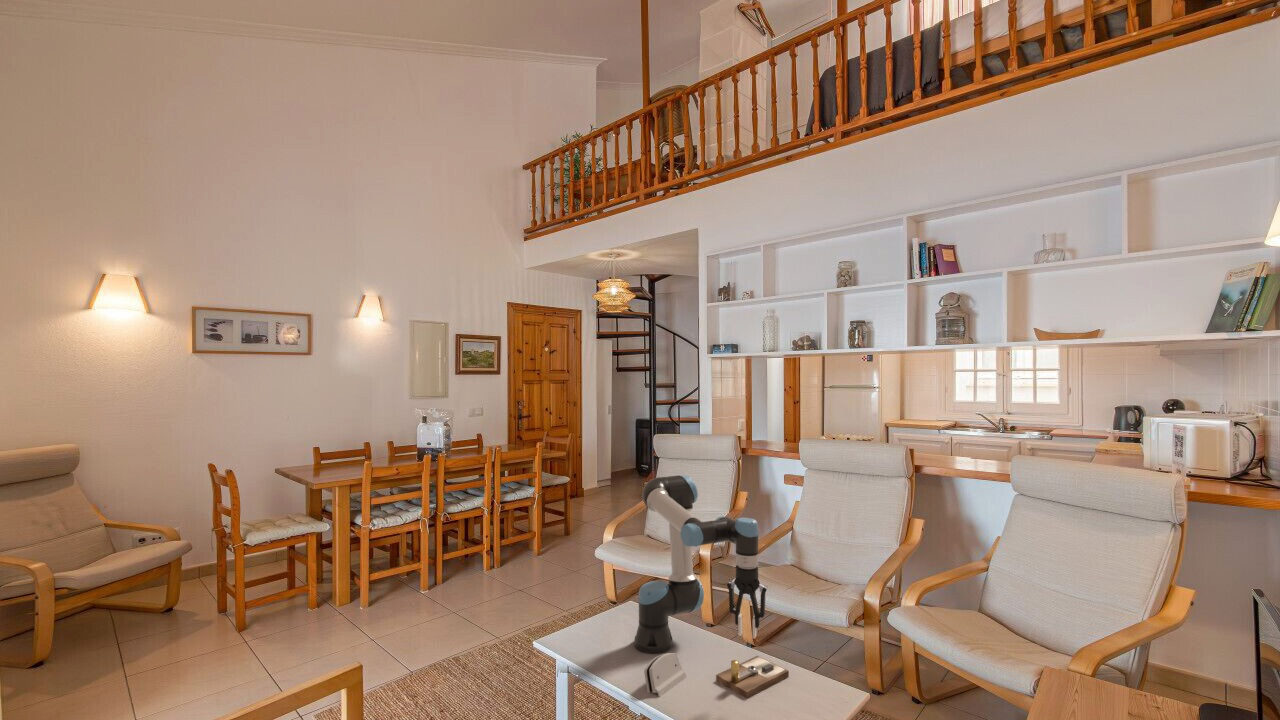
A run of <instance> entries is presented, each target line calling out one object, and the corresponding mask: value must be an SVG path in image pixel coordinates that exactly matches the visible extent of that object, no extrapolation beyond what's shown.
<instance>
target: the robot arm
mask: <svg viewBox="0 0 1280 720" xmlns="http://www.w3.org/2000/svg"><path fill="white" fill-rule="evenodd" d="M641 493H642V494H641V495H642V496H641V497H642V502H643V504H644V505H645V506H646V508H648V509H649V510H650V511H651V512H656V513H658V515H660V516H661V517H662V518H663V519H665V520H666V521H667V522H668V524H669V525H668V526H669V530H668V531H669V543H670V544H669V545H670V560H671V561H670V563H671V574H670V576H668V583H667V582H666V581H663V580H653V581H648V582H646V583H643V584H642V585H641V586H640V588H639V590H638V600H637V601H638V626H637V631H636V634H635V635H634V636H635V637H634V638H633V639H634V640H633V641H634V643H633V644H634V648H635V649H636V650H638V651H639V652H642V653H645V654H654V655H655V654H656V655H657V654H664V653H667V652H668V651H670V650H671V649H672V648H673V646H674V642H673V641H674V640H673V636H672V632H671V629H670V626H669V617H670V616H676V615H682V614H685V613H692V612H695V611H697V610H699V609H700V608H701V607H702V606H703V603H704V600H705V599H704V597H705V590H704V587H703V584H702V582H701V581H700V580H699V579H698V577H697V575H696V574H695V573H694V567H693V551H692V547H699V546H703V545H710V544H718V543H725V542H730V543H732V544H735V564H736V565H735V579H734V580H732V581H731V580H729V581H728V582H727V584H726V587H727V588H728V601H729V603H728V604H729V613H731V614H733V615H734V623H735V626H738V628H737V634H738V635H737V636H738V637H741V636H742V634H743V613H741V608H742V603H743V598H744V595H748V596H749V598H750V601H751V605H752V611H753V617H752V639H756V638H757V629H758V628H759V627H760V618H762V619H763V618H764V617H765V615H766V592H767V590H768V586H767V585H763V584H761V583H760V580H759V567H758V566H759V525H758V524H759V523H758V521H757V520H756V519H754V518H749V517H738V518H736V519H733V518H732V517H729V516H724V515H722V516H719V517H717V518H716V519H715V520H708V521H701V520H700V519H698V518H697V517H696V516H695V515H693V514H692V513H691V511H692V510H693V509H694V505H693V504H694V503H696V502H697V500H698V498H699V497H698V495H699V493H698V488H697V485H696V483H695V481H694V480H693V478H691V476H689V475H679V474H678V475H669V476H659V477H654V478H651V479H650V480H648V481H647V482H646V484H645V485H644V486H643V489H642V492H641ZM735 586H736V588H737V590H738V597H737V600H736V607H735ZM758 589H759V592H760V601H759V602H760V607H759V604H758V601H757V593H756V591H757V590H758ZM759 608H760V609H759Z"/></svg>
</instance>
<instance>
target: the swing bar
mask: <svg viewBox="0 0 1280 720" xmlns="http://www.w3.org/2000/svg"><path fill="white" fill-rule="evenodd" d="M739 664H740V662H739V661H738V659H733V660H731V661H730V668H731V681H732V682H739V681H740V680H742V679H744V678H746V677H748V676H750V675H752V674H757V667H755V666H749V667H748V669H747V670H745V671H743V672H741V673H739Z"/></svg>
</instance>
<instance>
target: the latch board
mask: <svg viewBox="0 0 1280 720" xmlns="http://www.w3.org/2000/svg"><path fill="white" fill-rule="evenodd" d="M749 666H755V667H757V674H752V675H750V676H748V677H746V678H744V679H742V680H740V681H739V682H732V681H731V667H730V668H727V669H726V670H724V671H722V672H719V673H717V674H716V675H715V682H716V681H717V683H719V684H721V685H723V686H725V687H727V688H728V689H730V690H732V691H733V692H735V693H737V694H739V695H741V696H742V697H744V698H746V699H748V698H750V697H753V696H754V695H756V694H758V693H760V692H762V691H764V690H766V689H767V688H769V687H772V686H773V685H775V684H777V683H779V682H781V681H782V680H785V679H787V678H789V670H788V669H786V668H784V667H782V666H781V665H777V664H776V663H773V662H771V661H770V660H767V659H766V658H763V657H761V656H759V655H756V656H754V657H751V658H749V659H747V660H745V661H743V662H741V663H739V673H741V672H743V671H745V670H747V669H748V667H749Z"/></svg>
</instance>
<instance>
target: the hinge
mask: <svg viewBox="0 0 1280 720" xmlns="http://www.w3.org/2000/svg"><path fill="white" fill-rule="evenodd" d="M643 673H644V680H645V685H646V692H647V694H650V693H652V694H654V693H656V694H657V696H658V698H660V697H662V696H663V695H665V694H666V693H667V692H669V691H671V689H673V688H674V687H675V686H678V684H680V683H681V682H683V681H684V680H685V679H687V674H686V672H685V670H683V668H682V665H681V663H680V660H679V657H678V654H677V653H674V652H669V653H667V652H665V653H661V654H660V655H657V656H656V657H654V658H653V659H651V660H650V661H649V662H648V664H647V665H646V667H645V668H644V671H643Z"/></svg>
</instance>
